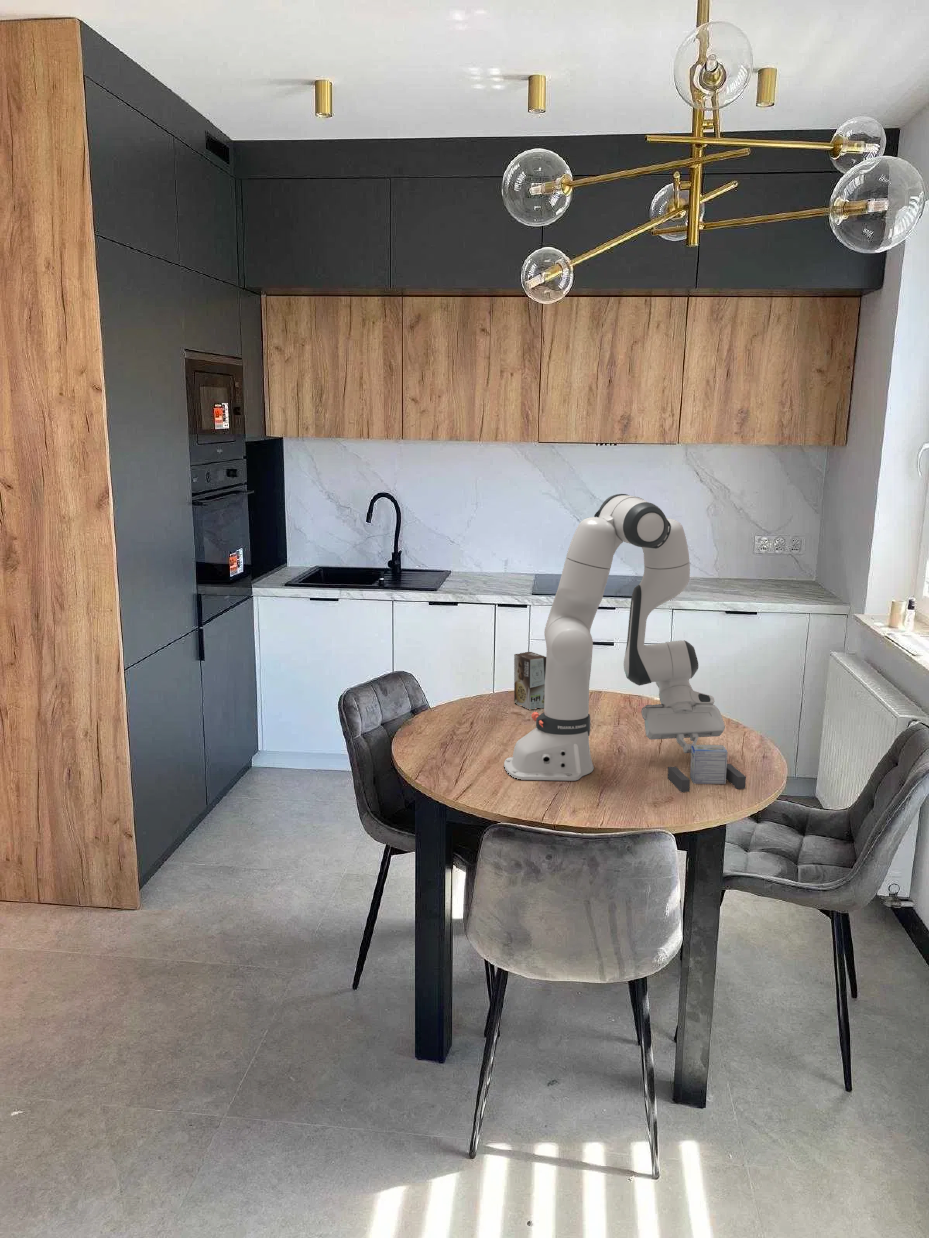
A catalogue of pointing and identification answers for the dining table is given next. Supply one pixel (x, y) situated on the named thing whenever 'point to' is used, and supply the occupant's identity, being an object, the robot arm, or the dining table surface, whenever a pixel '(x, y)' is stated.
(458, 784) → the dining table surface
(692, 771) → the medicine box
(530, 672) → the coffee box
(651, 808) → the dining table surface
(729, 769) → the grey blocks
